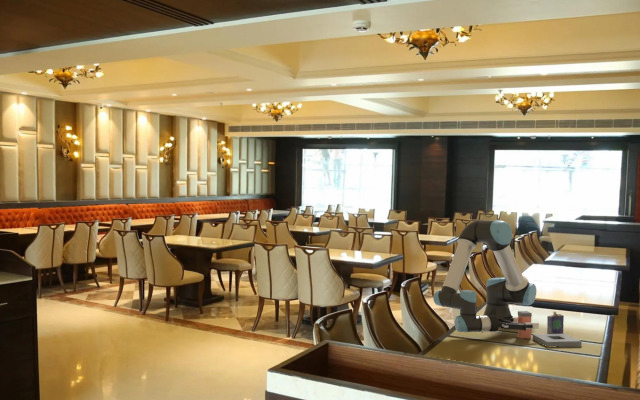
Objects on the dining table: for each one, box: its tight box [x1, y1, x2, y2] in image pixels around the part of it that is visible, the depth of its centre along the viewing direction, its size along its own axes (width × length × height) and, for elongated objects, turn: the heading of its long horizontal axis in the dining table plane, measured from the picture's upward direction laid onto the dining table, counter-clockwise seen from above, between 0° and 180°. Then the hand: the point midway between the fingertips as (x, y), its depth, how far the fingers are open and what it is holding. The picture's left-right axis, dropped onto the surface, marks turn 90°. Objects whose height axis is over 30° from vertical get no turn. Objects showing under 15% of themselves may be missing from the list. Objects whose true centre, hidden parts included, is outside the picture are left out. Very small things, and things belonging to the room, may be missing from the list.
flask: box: [546, 311, 565, 334], centre depth 274 cm, size 9×3×11 cm, turn 109°
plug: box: [517, 310, 533, 339], centre depth 266 cm, size 5×5×12 cm
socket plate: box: [532, 333, 583, 348], centre depth 256 cm, size 14×16×2 cm
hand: (532, 322), depth 266 cm, fingers open, 11 cm apart
